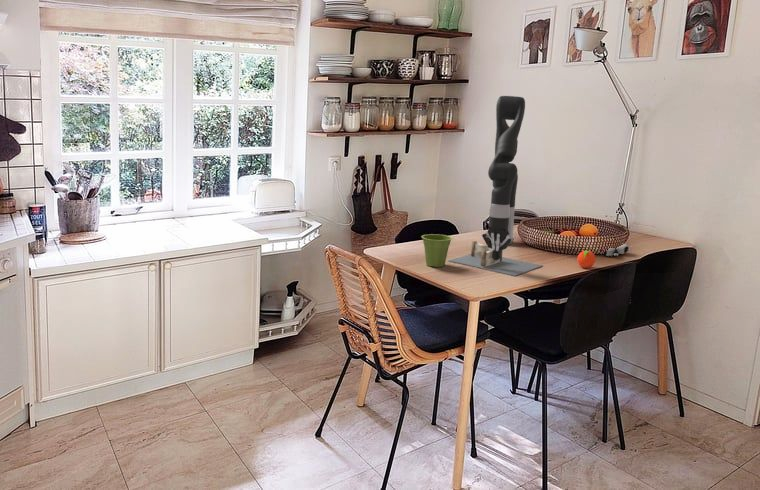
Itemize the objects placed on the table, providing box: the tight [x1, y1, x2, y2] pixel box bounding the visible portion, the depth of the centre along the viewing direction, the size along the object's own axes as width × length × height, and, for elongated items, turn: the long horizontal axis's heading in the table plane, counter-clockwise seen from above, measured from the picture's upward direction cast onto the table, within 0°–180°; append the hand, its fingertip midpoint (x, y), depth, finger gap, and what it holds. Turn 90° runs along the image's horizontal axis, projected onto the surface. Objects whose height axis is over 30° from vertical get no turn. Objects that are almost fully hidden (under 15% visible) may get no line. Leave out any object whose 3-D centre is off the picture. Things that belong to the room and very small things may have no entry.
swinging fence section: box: [481, 250, 504, 266], centre depth 263 cm, size 14×2×6 cm, turn 140°
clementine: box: [576, 249, 597, 269], centre depth 264 cm, size 8×7×7 cm
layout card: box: [448, 253, 543, 277], centre depth 266 cm, size 22×30×1 cm
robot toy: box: [603, 243, 633, 257], centre depth 290 cm, size 12×4×15 cm
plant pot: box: [421, 233, 453, 268], centre depth 259 cm, size 12×12×11 cm
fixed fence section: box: [470, 240, 492, 258], centre depth 272 cm, size 12×2×6 cm, turn 50°
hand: (495, 259), depth 257 cm, fingers closed
